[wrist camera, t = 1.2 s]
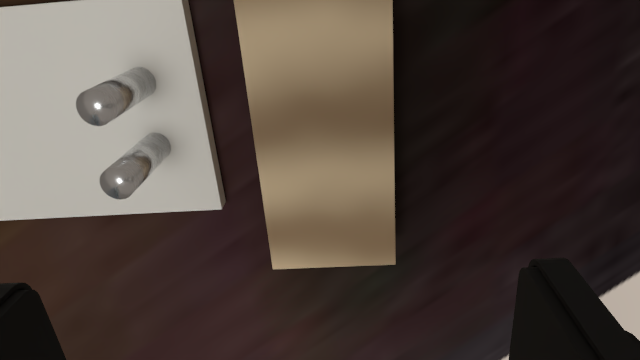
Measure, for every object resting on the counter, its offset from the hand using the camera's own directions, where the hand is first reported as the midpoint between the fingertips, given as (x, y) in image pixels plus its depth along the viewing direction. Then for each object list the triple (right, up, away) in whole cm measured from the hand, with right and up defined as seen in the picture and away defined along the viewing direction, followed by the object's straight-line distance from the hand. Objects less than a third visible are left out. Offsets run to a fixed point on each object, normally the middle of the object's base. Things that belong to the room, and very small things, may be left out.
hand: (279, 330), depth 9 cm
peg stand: (-15, +7, +17) cm, 24 cm away
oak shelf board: (+1, +8, +17) cm, 18 cm away
